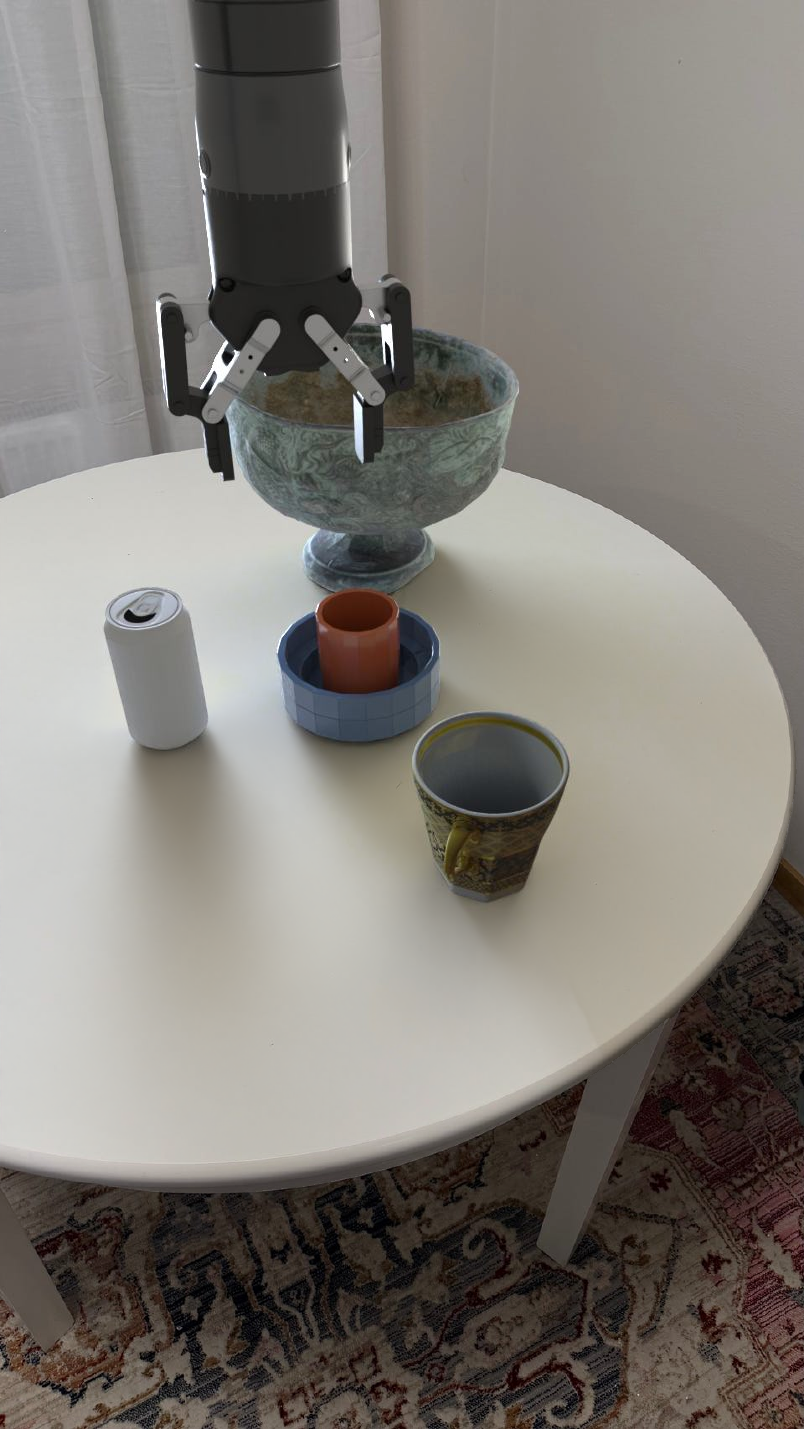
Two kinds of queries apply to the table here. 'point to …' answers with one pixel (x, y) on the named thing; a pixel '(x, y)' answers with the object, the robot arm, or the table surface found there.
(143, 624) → the beverage can
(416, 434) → the decorative bowl
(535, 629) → the table surface
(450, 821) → the ceramic cup
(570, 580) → the table surface
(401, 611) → the bowl
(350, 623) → the cup
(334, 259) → the robot arm
